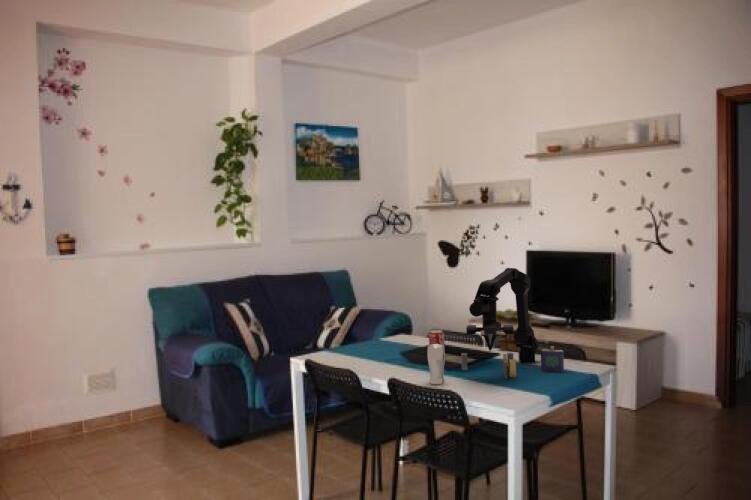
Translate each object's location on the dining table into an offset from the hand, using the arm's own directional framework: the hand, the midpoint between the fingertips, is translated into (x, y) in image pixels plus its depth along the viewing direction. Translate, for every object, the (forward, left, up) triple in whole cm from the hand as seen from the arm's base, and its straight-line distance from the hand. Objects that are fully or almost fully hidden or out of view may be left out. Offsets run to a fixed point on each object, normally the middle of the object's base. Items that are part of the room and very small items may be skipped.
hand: (490, 350), depth 255 cm
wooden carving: (-15, -43, -12) cm, 47 cm away
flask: (-26, -9, -12) cm, 30 cm away
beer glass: (+22, +5, -12) cm, 25 cm away
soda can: (+22, -35, -12) cm, 43 cm away
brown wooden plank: (-7, -5, -11) cm, 14 cm away
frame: (0, -7, -11) cm, 13 cm away
